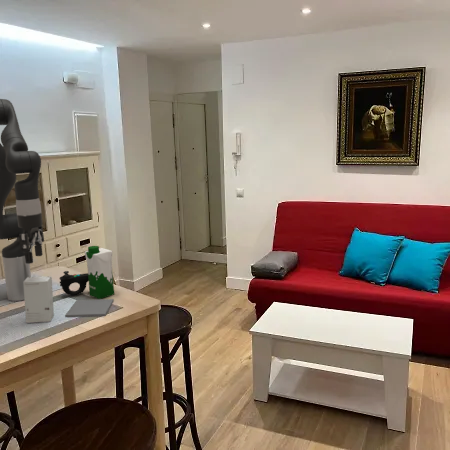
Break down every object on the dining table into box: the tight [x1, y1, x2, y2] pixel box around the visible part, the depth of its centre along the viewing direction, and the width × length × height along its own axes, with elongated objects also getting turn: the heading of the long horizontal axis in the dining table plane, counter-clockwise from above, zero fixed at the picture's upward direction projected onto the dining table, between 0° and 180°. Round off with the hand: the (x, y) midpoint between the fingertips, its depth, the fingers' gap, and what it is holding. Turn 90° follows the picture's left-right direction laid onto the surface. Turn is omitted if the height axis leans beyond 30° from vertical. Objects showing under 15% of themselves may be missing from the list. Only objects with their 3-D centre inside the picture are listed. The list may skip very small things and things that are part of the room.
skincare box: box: [23, 275, 55, 324], centre depth 156 cm, size 8×6×15 cm
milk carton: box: [84, 245, 115, 299], centre depth 178 cm, size 9×9×20 cm
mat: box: [64, 298, 115, 318], centre depth 166 cm, size 14×14×1 cm
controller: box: [59, 270, 89, 297], centre depth 180 cm, size 4×12×10 cm, turn 113°
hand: (34, 259), depth 153 cm, fingers open, 8 cm apart
